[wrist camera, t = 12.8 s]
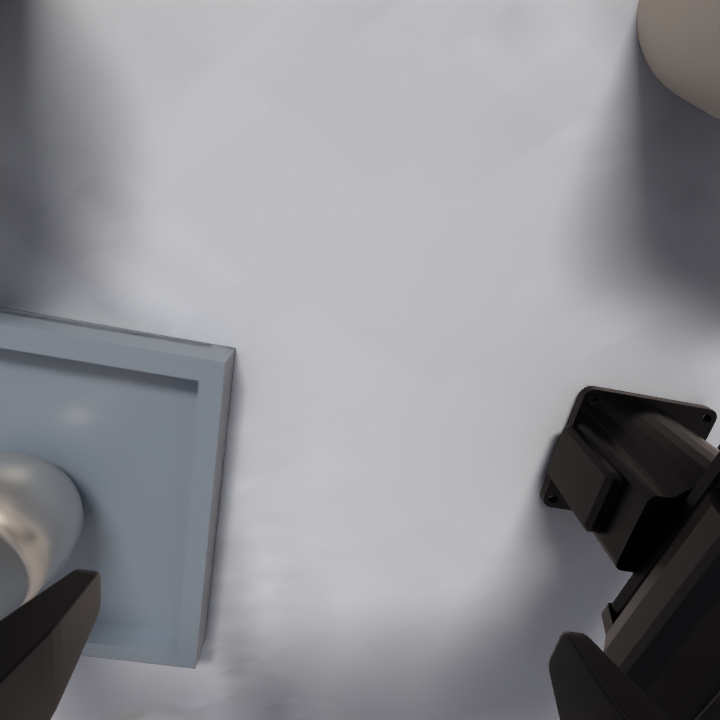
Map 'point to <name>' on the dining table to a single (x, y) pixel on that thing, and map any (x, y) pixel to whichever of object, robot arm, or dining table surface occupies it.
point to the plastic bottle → (34, 526)
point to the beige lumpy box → (683, 48)
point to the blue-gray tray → (127, 467)
